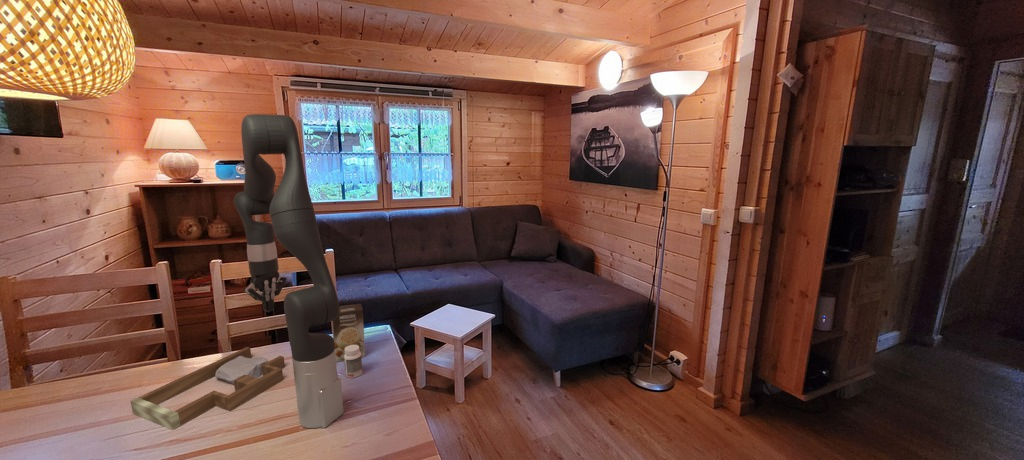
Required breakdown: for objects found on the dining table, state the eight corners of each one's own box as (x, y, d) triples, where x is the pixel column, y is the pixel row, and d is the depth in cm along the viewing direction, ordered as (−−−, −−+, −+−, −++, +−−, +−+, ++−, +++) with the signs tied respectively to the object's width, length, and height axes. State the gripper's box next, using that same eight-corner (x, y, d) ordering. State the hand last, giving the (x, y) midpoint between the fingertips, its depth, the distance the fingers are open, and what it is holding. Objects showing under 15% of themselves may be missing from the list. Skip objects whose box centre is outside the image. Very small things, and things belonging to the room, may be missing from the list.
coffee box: (334, 363, 122) (330, 314, 119) (334, 353, 127) (330, 307, 124) (366, 356, 126) (362, 309, 122) (364, 347, 131) (361, 302, 128)
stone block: (250, 391, 110) (273, 366, 119) (244, 378, 108) (269, 354, 117) (212, 389, 112) (238, 365, 121) (206, 376, 110) (233, 352, 119)
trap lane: (298, 370, 117) (297, 360, 116) (188, 436, 90) (185, 422, 90) (248, 357, 125) (246, 346, 124) (132, 413, 98) (130, 401, 97)
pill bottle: (366, 372, 117) (364, 346, 115) (352, 380, 113) (350, 353, 111) (356, 367, 119) (354, 342, 118) (342, 375, 115) (339, 348, 114)
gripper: (250, 264, 111) (257, 321, 114) (291, 253, 123) (296, 305, 126) (232, 261, 113) (239, 317, 117) (273, 250, 125) (279, 301, 129)
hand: (269, 310), depth 122 cm, fingers closed
